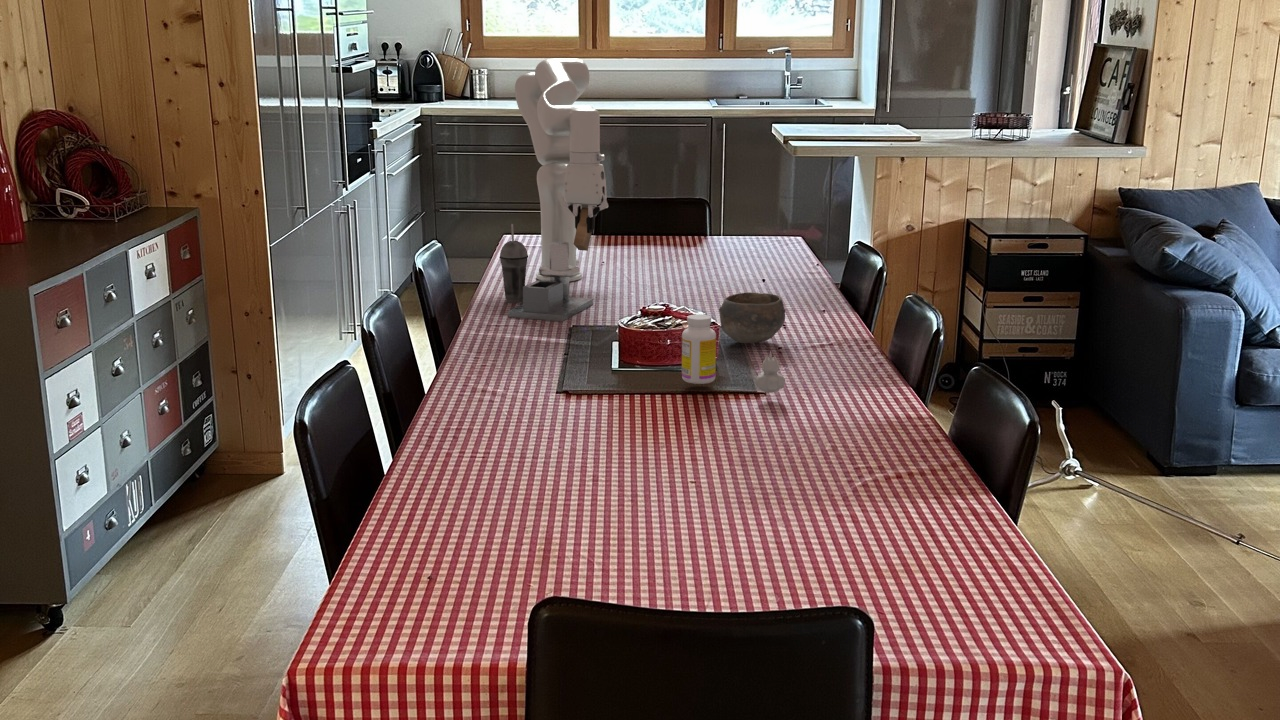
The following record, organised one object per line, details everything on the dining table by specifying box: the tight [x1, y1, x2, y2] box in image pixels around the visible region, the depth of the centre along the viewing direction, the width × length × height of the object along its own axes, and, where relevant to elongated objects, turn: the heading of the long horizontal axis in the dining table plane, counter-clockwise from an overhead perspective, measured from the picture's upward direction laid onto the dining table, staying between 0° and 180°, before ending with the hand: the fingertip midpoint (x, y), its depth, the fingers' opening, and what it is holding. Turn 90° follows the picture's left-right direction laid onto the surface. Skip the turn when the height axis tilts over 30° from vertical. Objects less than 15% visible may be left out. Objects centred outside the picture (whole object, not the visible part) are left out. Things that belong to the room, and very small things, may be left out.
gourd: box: [755, 350, 786, 394], centre depth 231 cm, size 5×7×8 cm
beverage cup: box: [499, 223, 529, 304], centre depth 307 cm, size 7×7×20 cm
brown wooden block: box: [574, 207, 593, 252], centre depth 307 cm, size 4×2×10 cm
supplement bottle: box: [681, 313, 717, 385], centre depth 238 cm, size 7×7×13 cm
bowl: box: [718, 291, 786, 344], centre depth 269 cm, size 14×15×10 cm
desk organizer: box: [507, 242, 594, 323], centre depth 297 cm, size 20×14×16 cm
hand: (584, 231), depth 308 cm, fingers closed on brown wooden block, 2 cm apart
